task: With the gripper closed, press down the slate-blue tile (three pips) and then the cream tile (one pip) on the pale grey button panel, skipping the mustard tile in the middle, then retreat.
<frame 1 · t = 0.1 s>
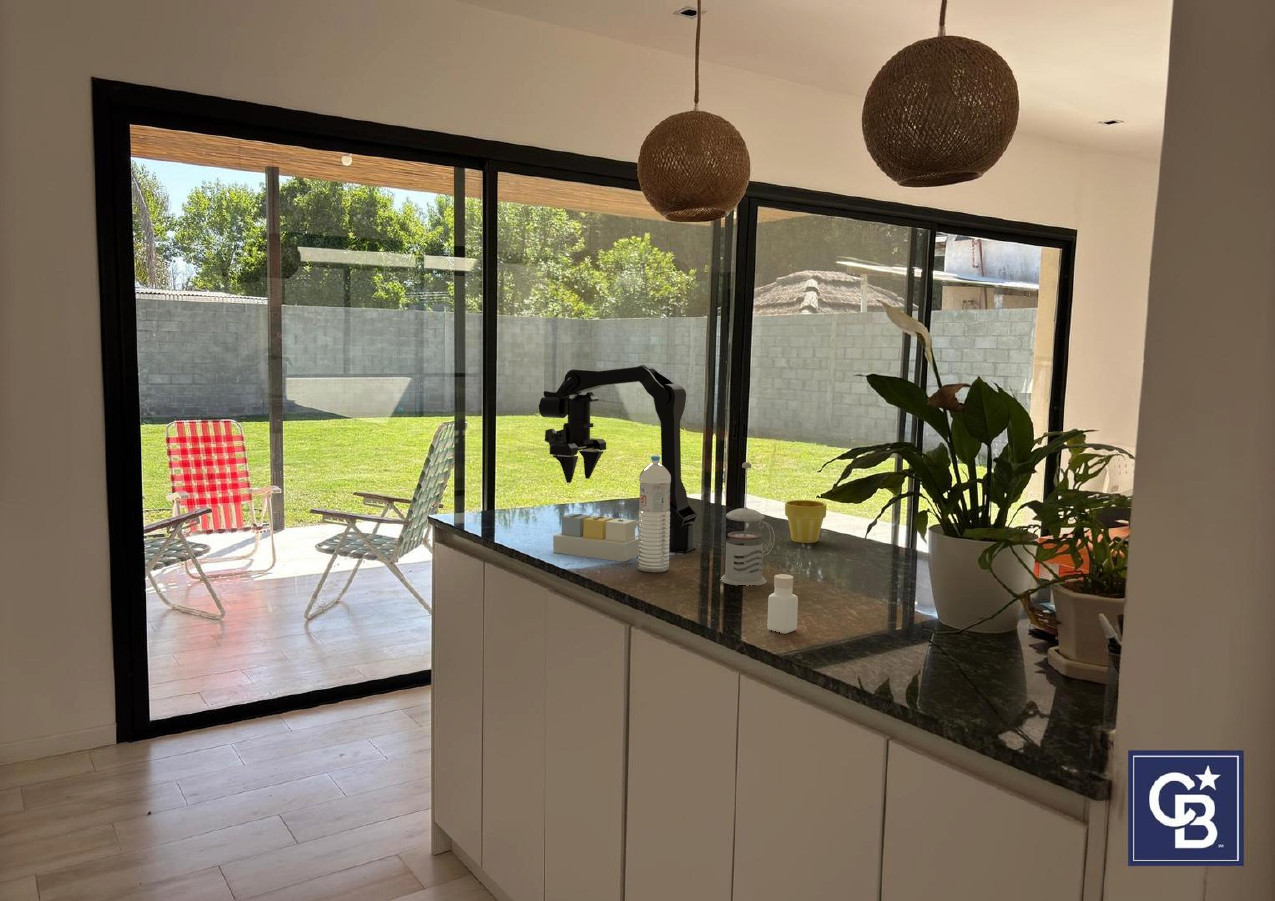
hand: (578, 480, 237), 15 cm above the worktop, tool pointing down, fingers open, 9 cm apart
french press: (747, 580, 197), on the worktop
tile 3 slate: (576, 526, 222), point 6 cm above the worktop, slide at 0.0 cm
plant pot: (804, 541, 240), on the worktop
tile 2 mustard: (598, 528, 220), point 6 cm above the worktop, slide at 0.0 cm
tile 1 cream: (620, 531, 217), point 6 cm above the worktop, slide at 0.0 cm
white pill bottle: (782, 631, 162), on the worktop
panel: (597, 553, 220), on the worktop
water bottle: (653, 570, 205), on the worktop
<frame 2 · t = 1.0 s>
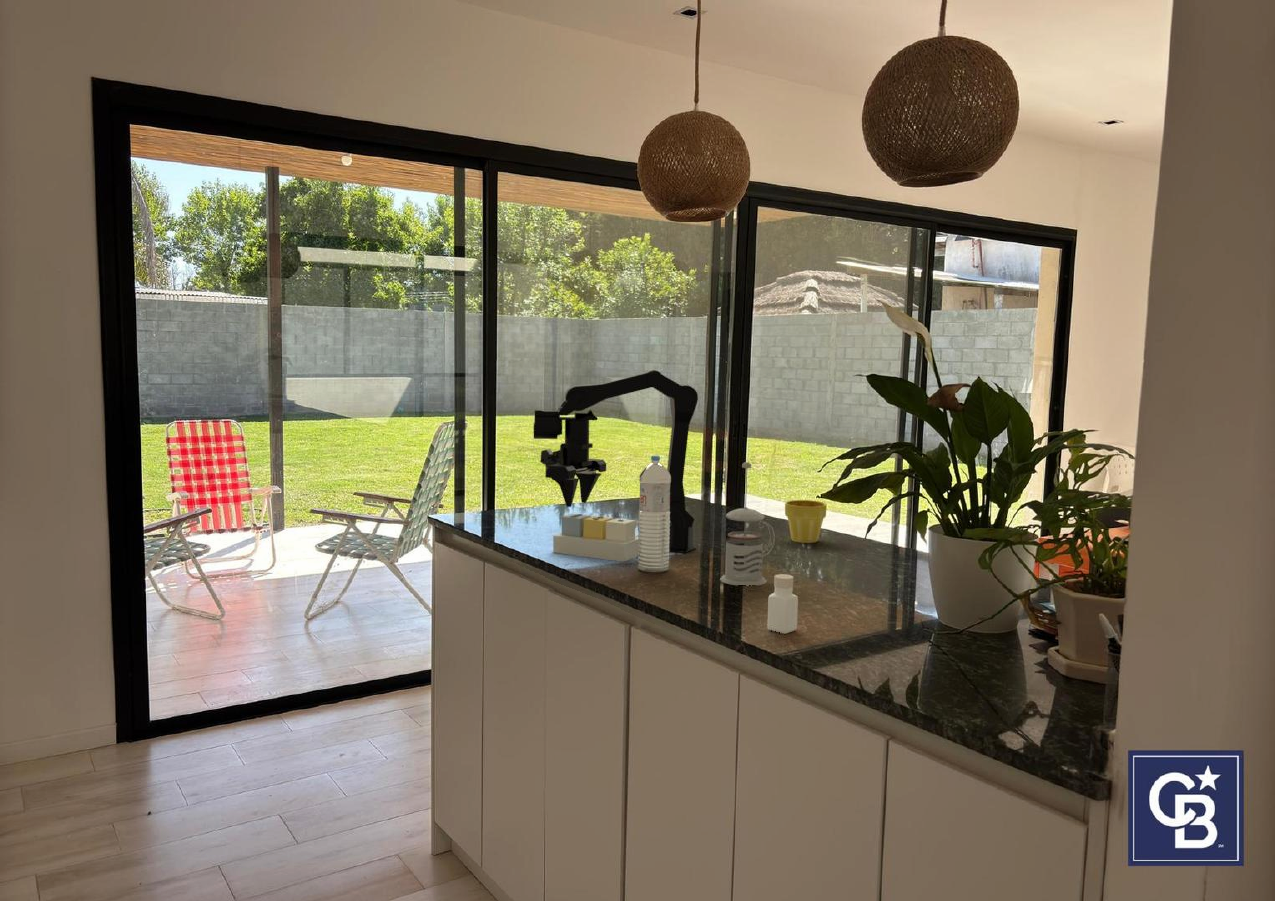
hand: (576, 504, 222), 11 cm above the worktop, tool pointing down, fingers open, 7 cm apart
nothing on the worktop moved.
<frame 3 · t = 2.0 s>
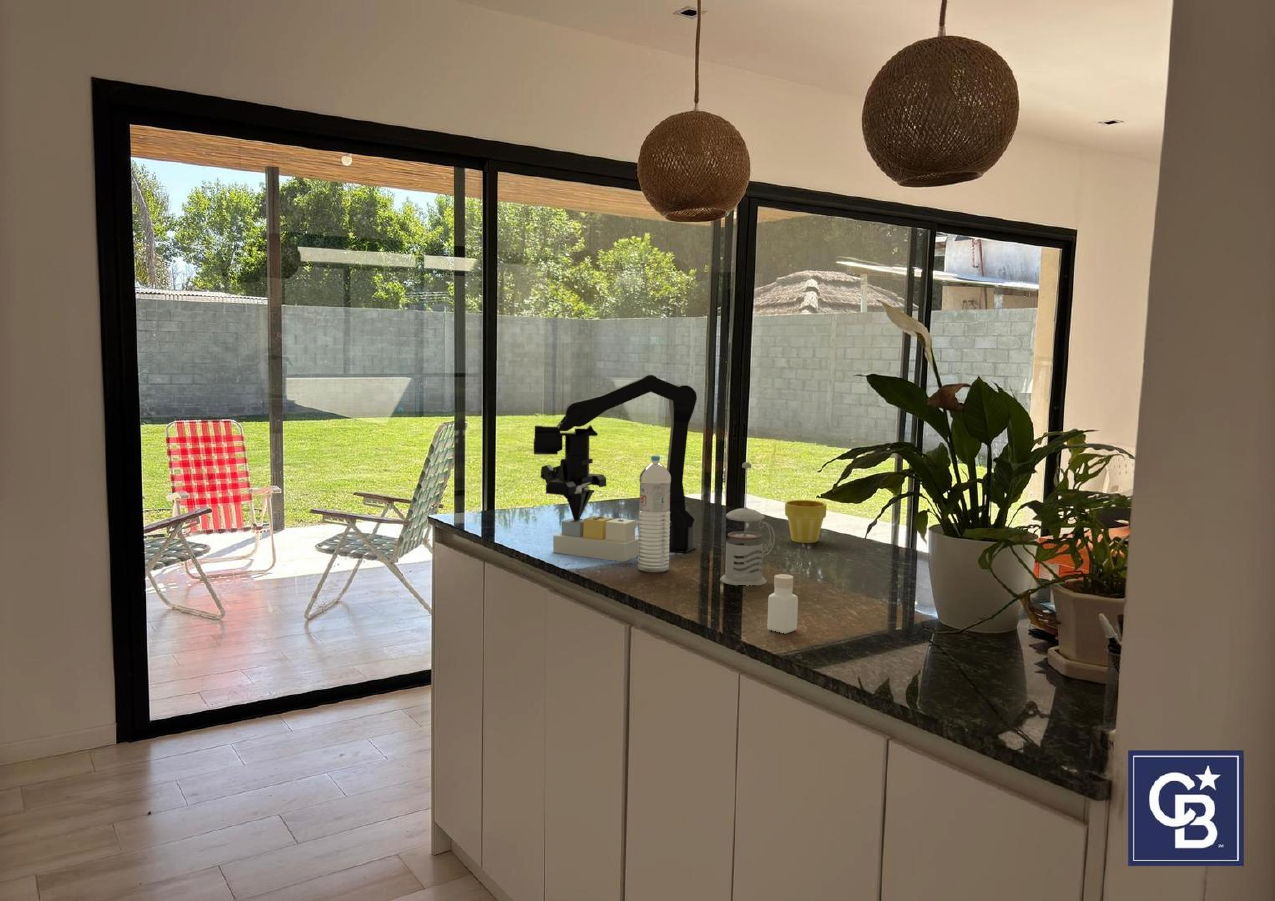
hand: (576, 520, 222), 7 cm above the worktop, tool pointing down, fingers closed, pressing on tile 3 slate
tile 3 slate: (576, 530, 222), point 5 cm above the worktop, slide at -1.2 cm, touching gripper
everything else where it was.
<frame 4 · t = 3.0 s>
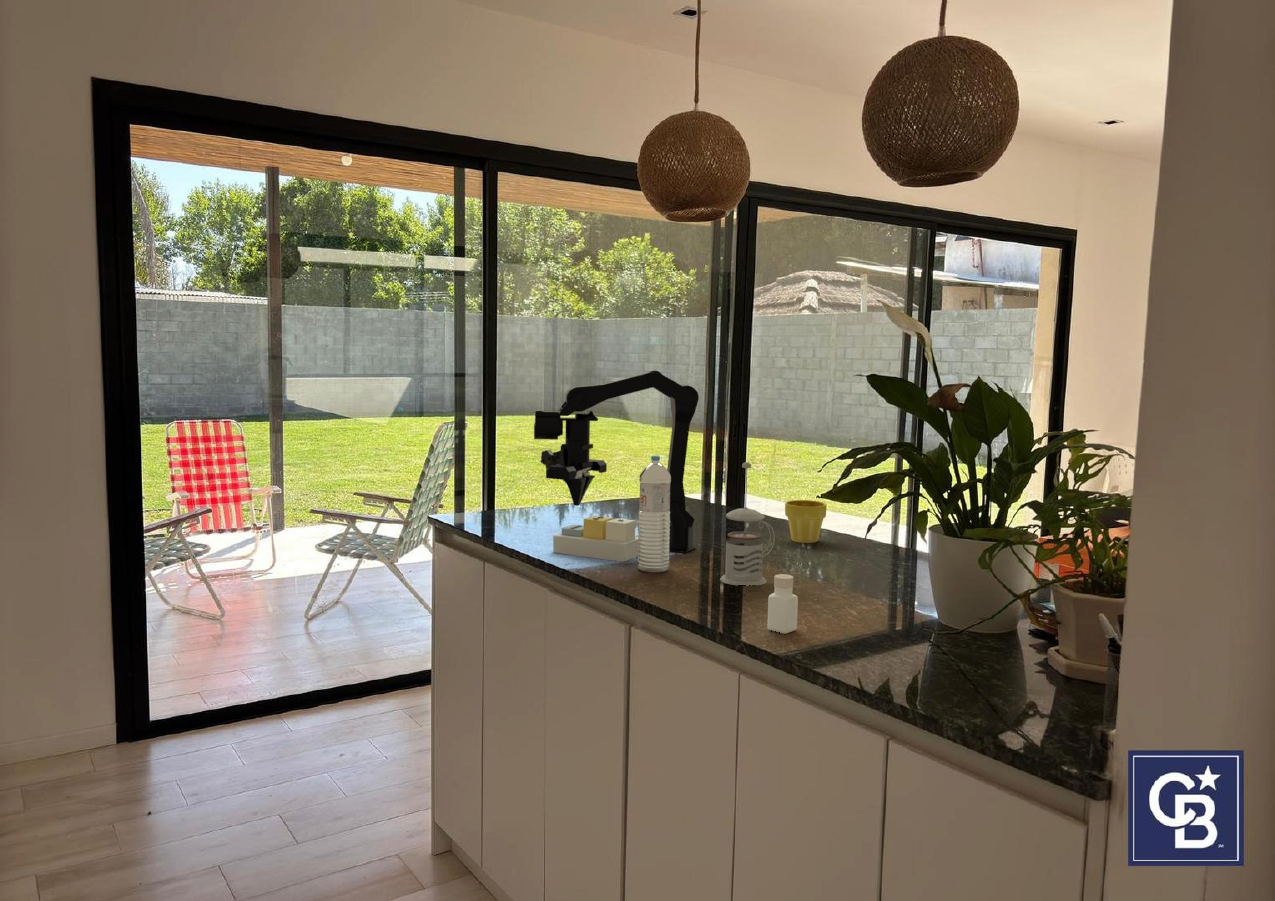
hand: (576, 505, 222), 11 cm above the worktop, tool pointing down, fingers closed
tile 3 slate: (575, 537, 223), point 3 cm above the worktop, slide at -2.7 cm
everything else where it was.
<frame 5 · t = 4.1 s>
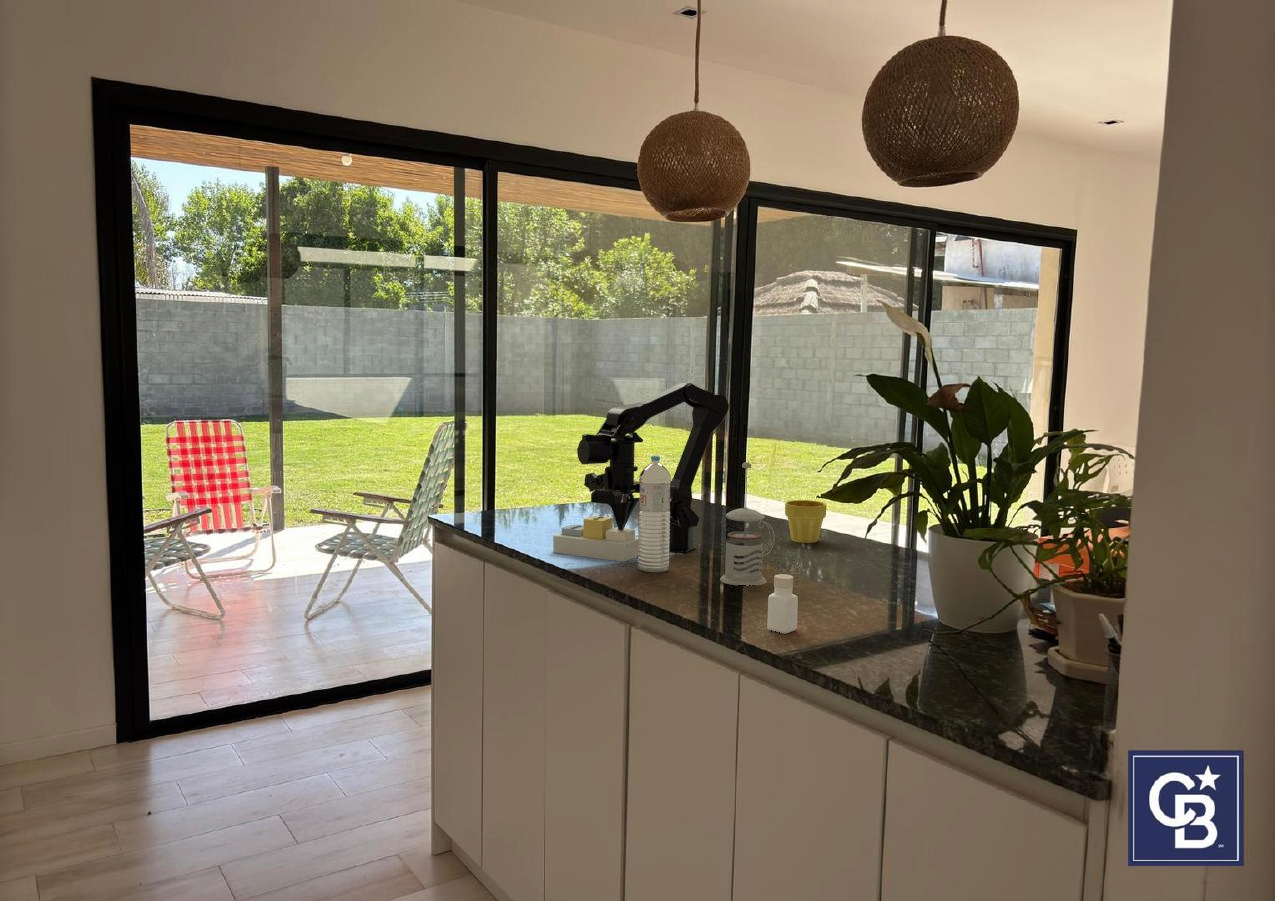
hand: (621, 529, 217), 6 cm above the worktop, tool pointing down, fingers closed, pressing on tile 1 cream
tile 1 cream: (620, 540, 217), point 4 cm above the worktop, slide at -2.1 cm, touching gripper
everything else where it was.
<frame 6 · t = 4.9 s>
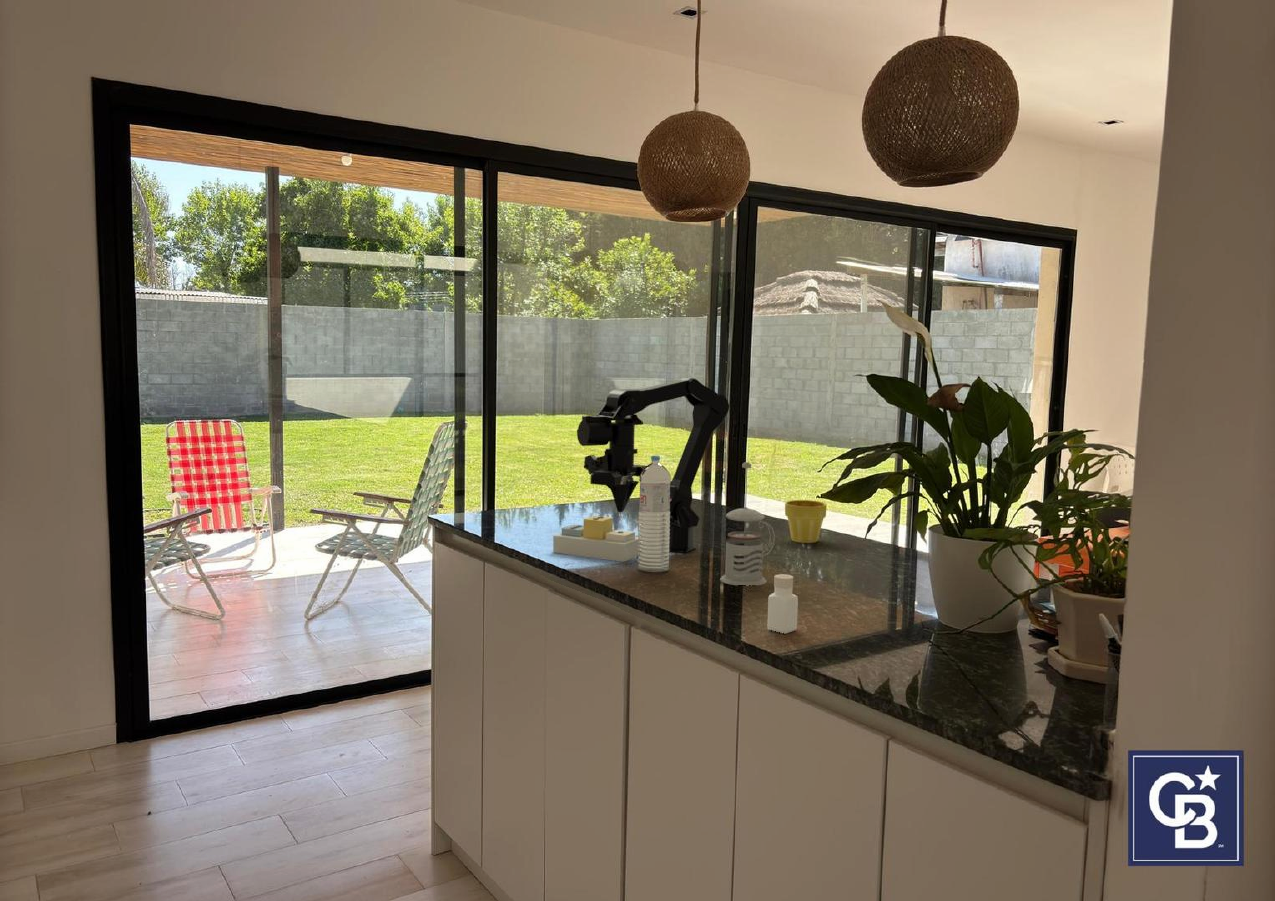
hand: (620, 511, 216), 10 cm above the worktop, tool pointing down, fingers closed
tile 1 cream: (620, 542, 217), point 3 cm above the worktop, slide at -2.7 cm
everything else where it was.
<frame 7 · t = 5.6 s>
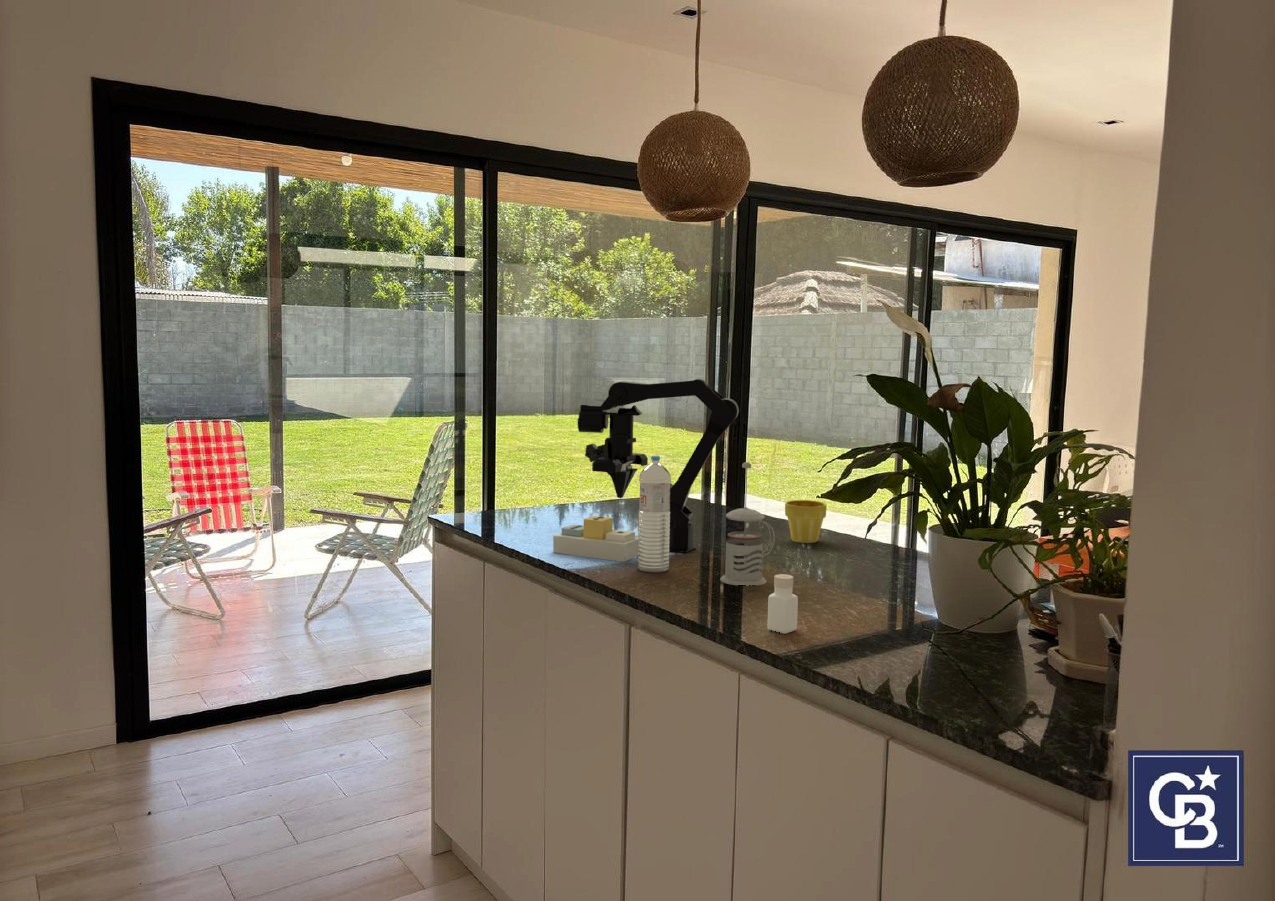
hand: (620, 497, 227), 12 cm above the worktop, tool pointing down, fingers closed
nothing on the worktop moved.
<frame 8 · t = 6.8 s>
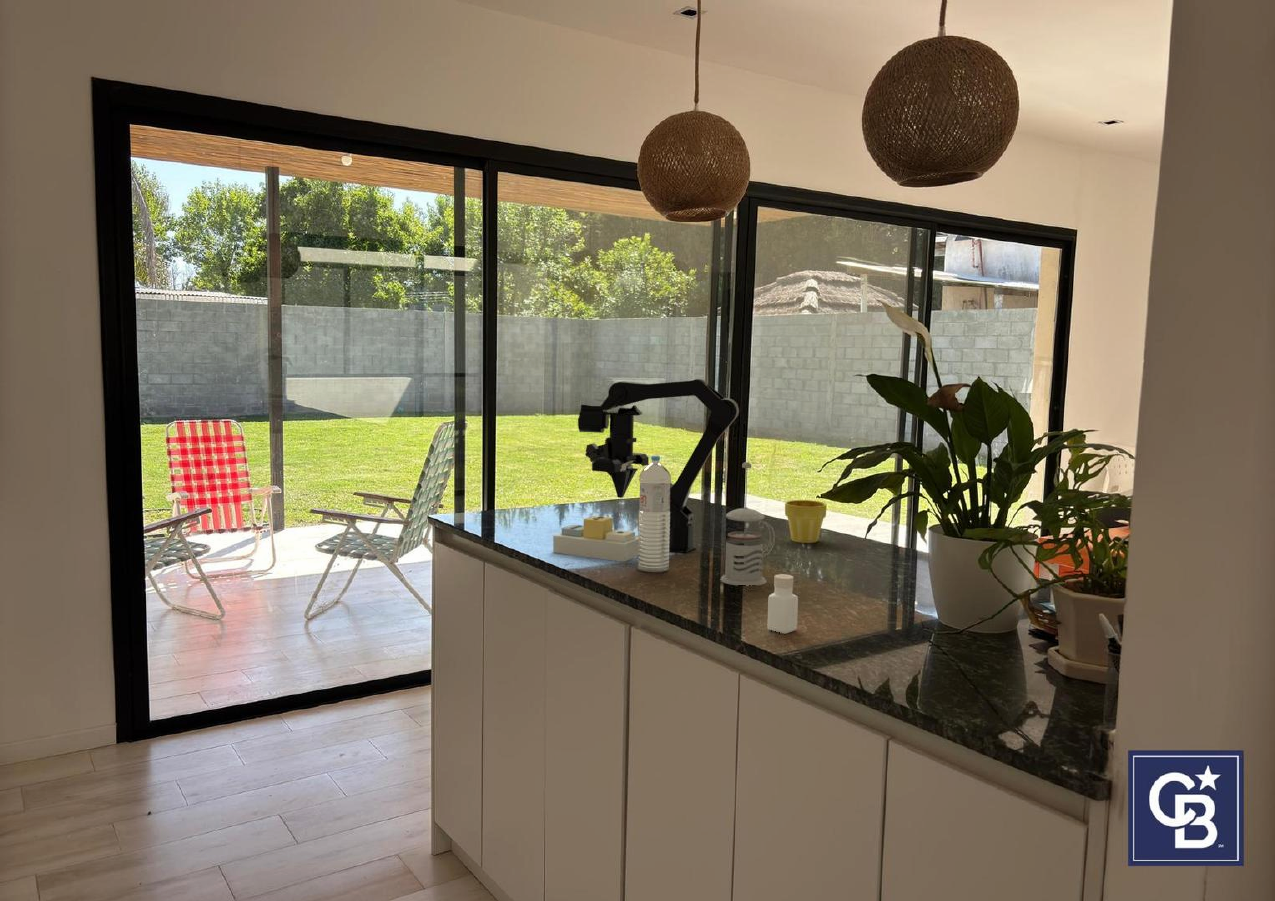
hand: (620, 497, 228), 12 cm above the worktop, tool pointing down, fingers closed
nothing on the worktop moved.
at the end: tile 3 slate slide at -2.7 cm; tile 1 cream slide at -2.7 cm; tile 2 mustard slide at 0.0 cm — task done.
